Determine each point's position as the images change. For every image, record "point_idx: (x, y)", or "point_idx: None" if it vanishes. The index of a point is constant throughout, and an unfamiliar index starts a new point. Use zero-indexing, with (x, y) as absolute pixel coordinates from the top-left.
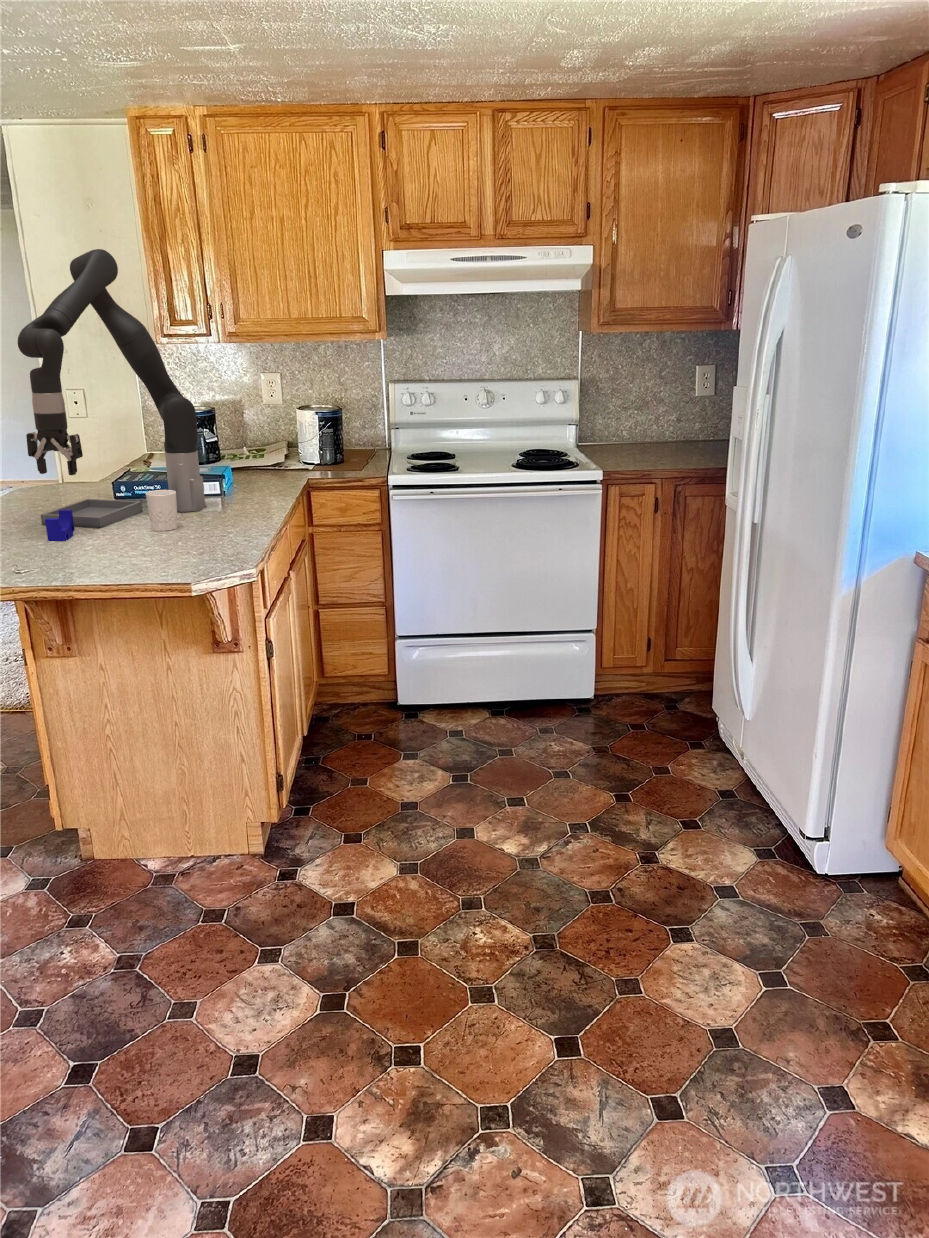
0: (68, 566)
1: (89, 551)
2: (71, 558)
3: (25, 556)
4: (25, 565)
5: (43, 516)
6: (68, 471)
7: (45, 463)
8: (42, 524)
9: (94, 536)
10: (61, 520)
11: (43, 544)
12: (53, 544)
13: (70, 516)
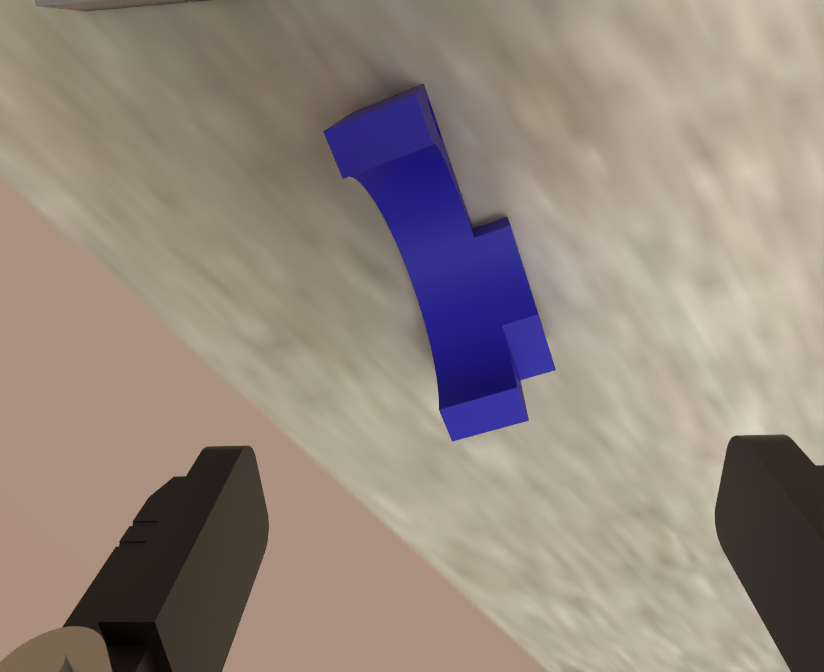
0: None
1: None
2: None
3: (527, 584)
4: (611, 668)
5: (70, 5)
6: (740, 575)
7: (200, 556)
8: (88, 10)
9: (654, 195)
10: (379, 177)
11: None
12: None
13: (436, 145)
